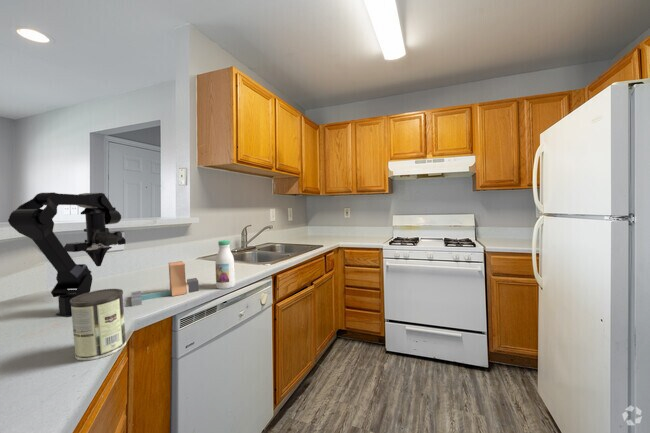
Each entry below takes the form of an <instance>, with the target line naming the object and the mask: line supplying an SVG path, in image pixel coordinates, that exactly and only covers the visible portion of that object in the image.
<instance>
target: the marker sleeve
mask: <svg viewBox="0 0 650 433" xmlns="http://www.w3.org/2000/svg"><path fill="white" fill-rule="evenodd" d="M168 276H169V277H168V278H169V290H171V293H172V295H171V296H172V297H176V296H180V295H184V294H185V295H186V294H187V292H186V283H187V279H186V264H185V262H184V261H182V260H181V261H173V262H168Z"/></svg>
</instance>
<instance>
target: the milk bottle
mask: <svg viewBox="0 0 650 433" xmlns="http://www.w3.org/2000/svg"><path fill="white" fill-rule="evenodd" d="M230 242H231V241H230V240H229V239H228V240H226V239H224V240H219V241H218V242H217V244H218V251H217V252H218V253H217V254H216V257H215V282H216V283H215V284H216V288H217V289H220V290H227V289H232V288H233V287H235V286H236V272H235V271H236V270H235V257H234V255H233V253H232V252H231V249H230V246H231V245H230V244H231V243H230Z"/></svg>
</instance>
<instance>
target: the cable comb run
mask: <svg viewBox="0 0 650 433" xmlns="http://www.w3.org/2000/svg"><path fill="white" fill-rule="evenodd" d="M199 287H200V286H199V280H198V278H197V277H194V278H188V279H186V294H190V293H194V292H199V289H200V288H199ZM167 296H172V293H171V290H170V289H168V290H162V291H157V292H151V293H145V294H142V290H137V291H132V292H131V307H135V305H136V306H140V304H141V305H143V304H142V303H143V301H146V300H151V298H152V299H156V297H157V298H161V297H167ZM145 299H146V300H145Z"/></svg>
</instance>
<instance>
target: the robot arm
mask: <svg viewBox="0 0 650 433" xmlns="http://www.w3.org/2000/svg"><path fill="white" fill-rule="evenodd" d="M58 206H78V207H79V208H84V210H82V211H81V212H80V215H85V227H86V228H83V232H84V233H86V239H84V242H81V241H80V242H79V241H77V242H69V243H66V244H65V245H63V244H62V242H61V241H60V240H59V238H58V237H57V235H56V234H55V233H54V227H55V222H54V217H55V216H56V215H57V214H58ZM43 207H44V208H43ZM116 208H117V207H115V206H113V205H112V204H111V202H110V200H109V198H108V196H106V193H104V192H85V193H79V194H76V193H75V194H72V193H58V192H40V193H37V194H35V196H33V198H31V199H29V200H27V201H26V202H24V203H22V204H21V205H19V206H18V207H17V208H16V209H14V210H13V211H12V212H10V215H9V217H8V221H7V222H8V224H9V225H10V226H11V227H12V228H13V229H14V230H15V231H16V232H17V233H19V234H20V235H23V236H24V237H28V238H29V239H31V240H32V241H33V242H34V244H35V245H36V246H37V248H38V249H39V250H40V251H41V253H42V254H43V255H44V257H45V258H46V259H47V261H49V263H50V264H51V265H52V267H53V268H54V269H55V271H57V273H56V278H55V279H56V281H57V282H56V284H55V285H54V287H53V288H52V290H50V293H51V295H52V297H53V298H58V300H57V302H58V312H56V313H55V315H56V316H62V317H63V316H64V317H72V311H71V304H70V300H71V299H72V298H74V297H76V296H78V295H81V294H84V293H88V292H91V289H92V283H93V275H92V271H91V269H89V267H88V265H87V264H85V263H81V264H80V263H79V264H77V263H76V262H75V261H74V260H73V257H71V255H70V254H69V253H78V252H85V253H86V254H87V255H88V257H90V259H91V260H92V262H93V263H94V264H95V265H96V267H101V266H102V263H103V260H104V259H105V255H106V253H107V252H108V251H109V250H111V249H112V248H113V247H112V246H113V245H114V246H117V245H119V246H121V245H126V238H125V237H123V233H122V232H121V231H120V230H118V231H114V232H110V229H109V227H106V225H115V224H118V223H119V222H121V220H122V215H121V213H120V212H119V211H118V210H117V209H116Z"/></svg>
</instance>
